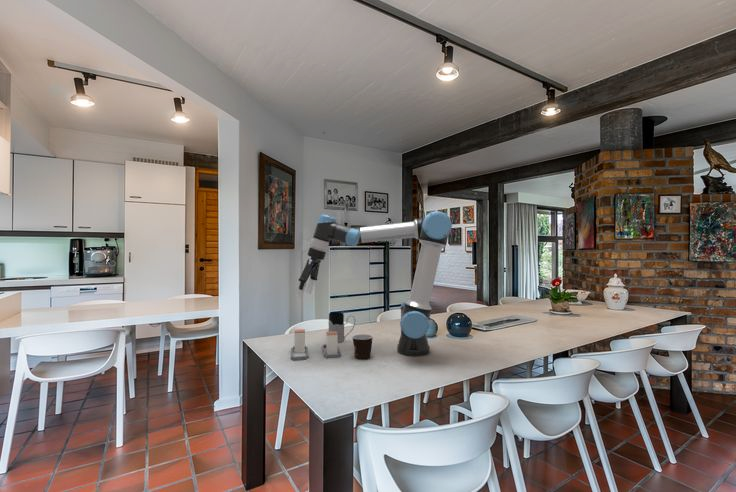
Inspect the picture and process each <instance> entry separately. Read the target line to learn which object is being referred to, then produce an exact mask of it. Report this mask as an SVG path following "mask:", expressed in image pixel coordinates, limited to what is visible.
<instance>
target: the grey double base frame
mask: <svg viewBox="0 0 736 492" xmlns="http://www.w3.org/2000/svg"><path fill="white" fill-rule="evenodd" d="M325 349H326V343H325V344H323V345H322V346H321V351H322V355H323V358H325V359H340V358H341V357H342V353H341V350H340V348H339V347H338V354H330V355H327V354H326V350H325ZM290 350H291V351H290V360H291V361H292V362H293V361H308V360H307V359H309V358H310V357H309V355H310V354H309V348H308V346H307V345H305V354H306V355H302V356H300V355H299V356H294V345H293V346H292V347H291V348H290Z"/></svg>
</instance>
